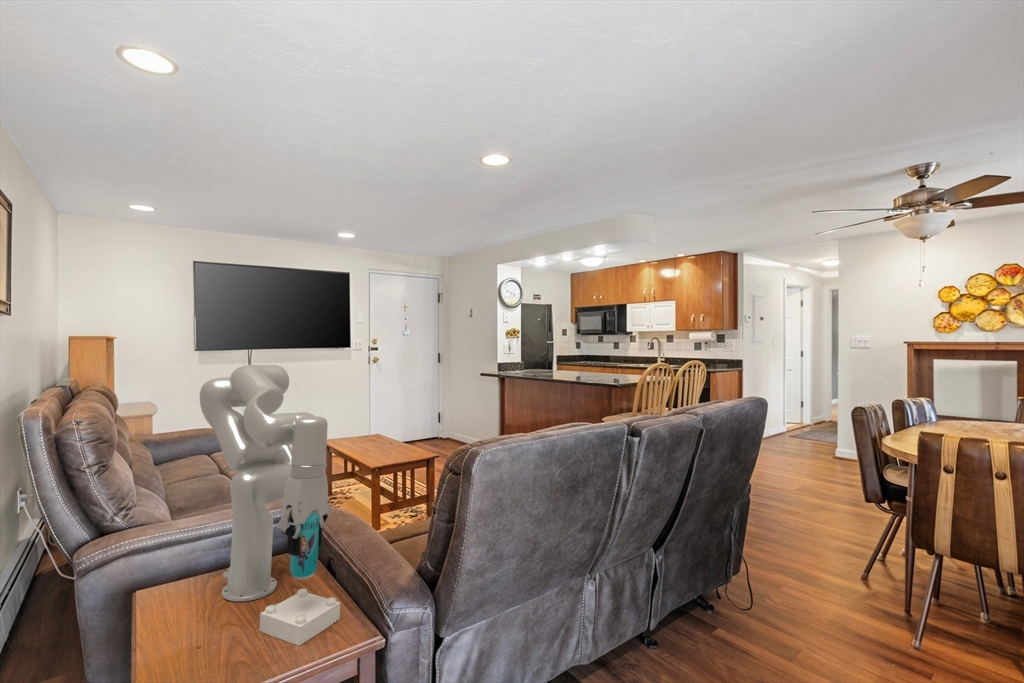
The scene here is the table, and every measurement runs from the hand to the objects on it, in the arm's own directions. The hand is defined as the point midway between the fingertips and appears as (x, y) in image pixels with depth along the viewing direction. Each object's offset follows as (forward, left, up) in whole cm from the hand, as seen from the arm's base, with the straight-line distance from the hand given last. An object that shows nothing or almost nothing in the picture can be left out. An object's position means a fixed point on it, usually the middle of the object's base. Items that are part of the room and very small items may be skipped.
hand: (304, 548), depth 116 cm
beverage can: (0, 0, -6) cm, 6 cm away
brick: (0, 0, -17) cm, 17 cm away
